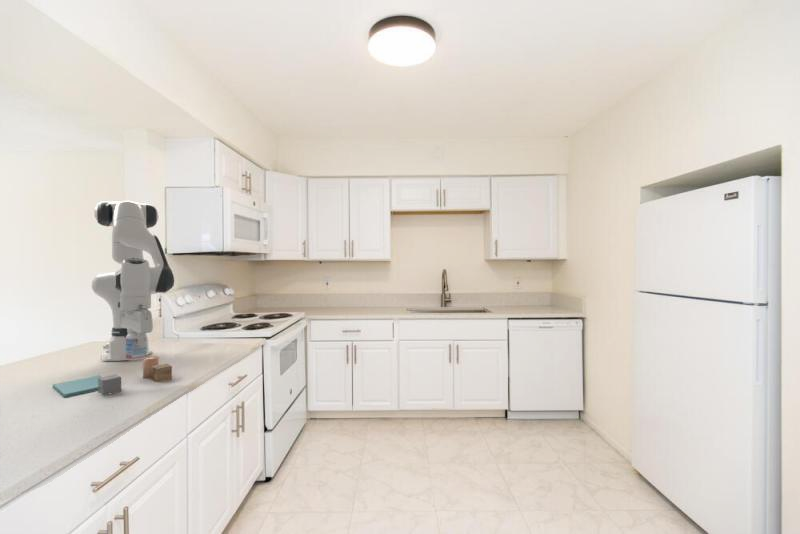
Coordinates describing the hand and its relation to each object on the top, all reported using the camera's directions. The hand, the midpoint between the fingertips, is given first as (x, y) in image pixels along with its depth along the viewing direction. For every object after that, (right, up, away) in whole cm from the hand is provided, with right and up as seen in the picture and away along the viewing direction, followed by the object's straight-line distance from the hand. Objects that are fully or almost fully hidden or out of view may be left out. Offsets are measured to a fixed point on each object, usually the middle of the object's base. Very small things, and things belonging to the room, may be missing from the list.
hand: (136, 342), depth 131 cm
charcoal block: (-4, -15, -7) cm, 17 cm away
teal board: (-17, -15, -3) cm, 23 cm away
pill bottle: (0, -6, 0) cm, 6 cm away
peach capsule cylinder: (-1, -15, +10) cm, 18 cm away
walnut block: (+5, -15, +6) cm, 17 cm away
